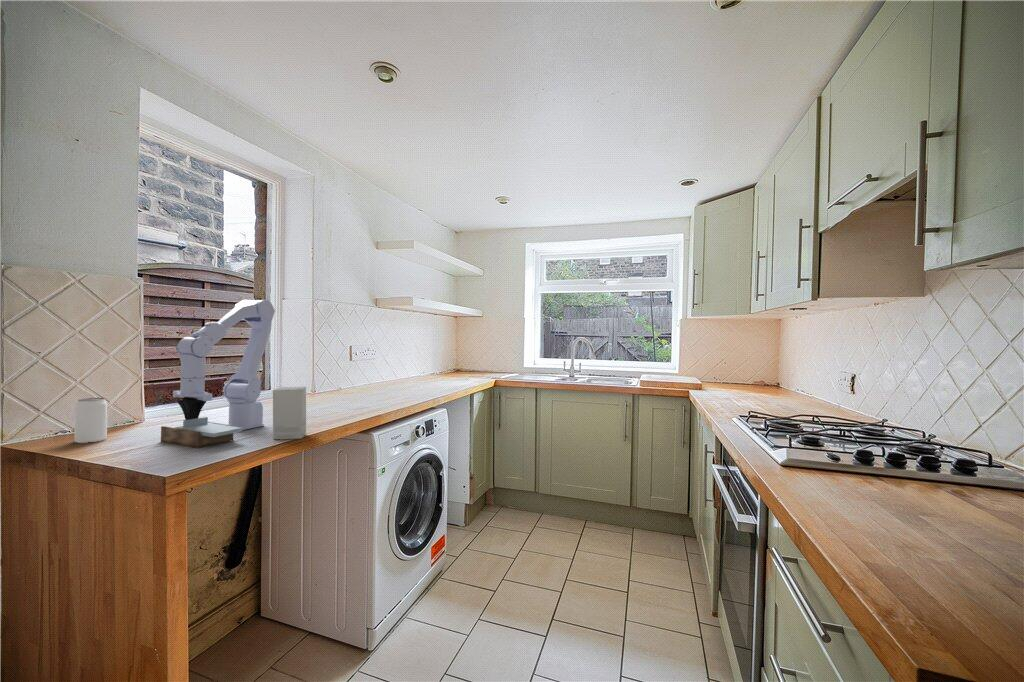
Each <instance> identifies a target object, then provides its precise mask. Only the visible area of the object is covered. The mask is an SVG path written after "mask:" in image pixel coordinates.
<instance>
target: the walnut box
mask: <svg viewBox="0 0 1024 682" xmlns="http://www.w3.org/2000/svg"><path fill="white" fill-rule="evenodd" d="M208 423H214V424H220V425H227V426H233V425H229V424H225V423H218V422H212V421H208ZM180 427H183V425H181V426H175V427H170V426H166V425H161V426H160V442H162V443H167V444H173V445H177V446H178V445H179V446H184V447H189V448H195V449H201V448H204V447H205V448H206V447H209V446H213V445H219V444H222V442H223V443H227V442H226V441H228V442H231V441H230V440H232V441H234V433H231V434H226V435H222V436H217V437H209V436H203V435H200V432H197V431H191V430H185V429H178V428H180ZM218 443H219V444H218Z"/></svg>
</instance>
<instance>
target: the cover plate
mask: <svg viewBox="0 0 1024 682" xmlns="http://www.w3.org/2000/svg"><path fill="white" fill-rule="evenodd" d="M208 420H209V417H207V416H202V417H198V418H195V419H188V420H185V419H183V424H182V426H183V427H180V426H179V427H180V428H178V429H185V430H191V431H197V432H200V435H203V436H209V437H217V436H222V435H226V434H231V433H233V434H235V433H240V432H243V430H242V428H240V427H234V426H227V425H228V424H226V425H220V424H221V423H220V424H214V423H215V422H213V423H208V422H209V421H208Z"/></svg>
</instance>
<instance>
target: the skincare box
mask: <svg viewBox="0 0 1024 682" xmlns="http://www.w3.org/2000/svg"><path fill="white" fill-rule="evenodd" d="M305 435H307V386H280V387H277V388H275V389H273V390H272V440H273V439H280V440H299V439H303V438H304V437H305Z"/></svg>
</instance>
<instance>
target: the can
mask: <svg viewBox="0 0 1024 682" xmlns="http://www.w3.org/2000/svg"><path fill="white" fill-rule="evenodd" d="M106 400H107V399H106V398H105V397H87V398H79V399H77V403H76V404H75V407H74V437H73V438H74V440H73V441H74V442H75V443H76V442H77V443H76V444H89V443H88V442H94V443H98V442H97V441H99V442H102V441H101V440H103V441H105V440H106V439H107V435H108V402H107V401H106ZM104 439H105V440H104Z"/></svg>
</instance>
